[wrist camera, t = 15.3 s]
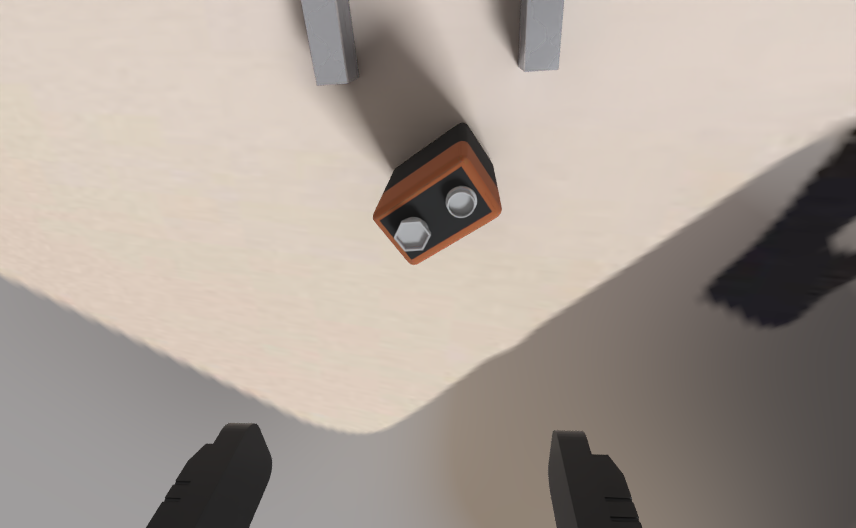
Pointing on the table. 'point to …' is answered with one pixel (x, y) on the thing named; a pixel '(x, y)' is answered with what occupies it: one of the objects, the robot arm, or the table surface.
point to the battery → (439, 196)
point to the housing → (338, 55)
